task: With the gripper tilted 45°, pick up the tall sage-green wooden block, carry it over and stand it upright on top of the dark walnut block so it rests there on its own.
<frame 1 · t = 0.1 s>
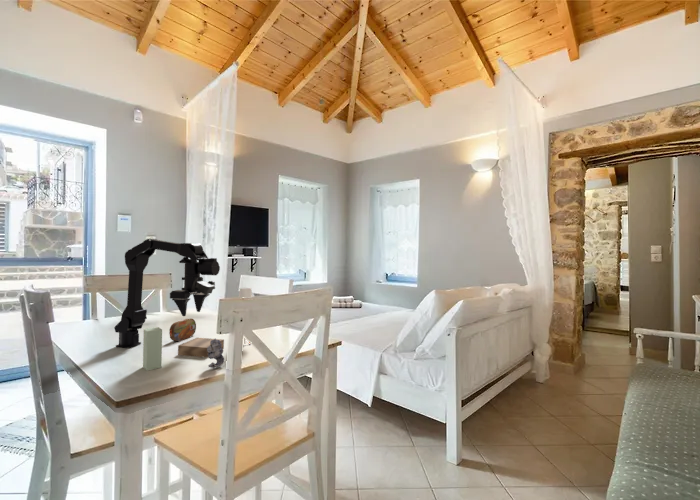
hand: (191, 313, 136), 15 cm above the table, tool pointing down, fingers open, 9 cm apart
champagne flute: (244, 344, 148), on the table
sage block: (152, 367, 117), on the table
grey lumpy figurine: (215, 367, 118), on the table
walnut block: (201, 352, 136), on the table
tin: (182, 339, 154), on the table
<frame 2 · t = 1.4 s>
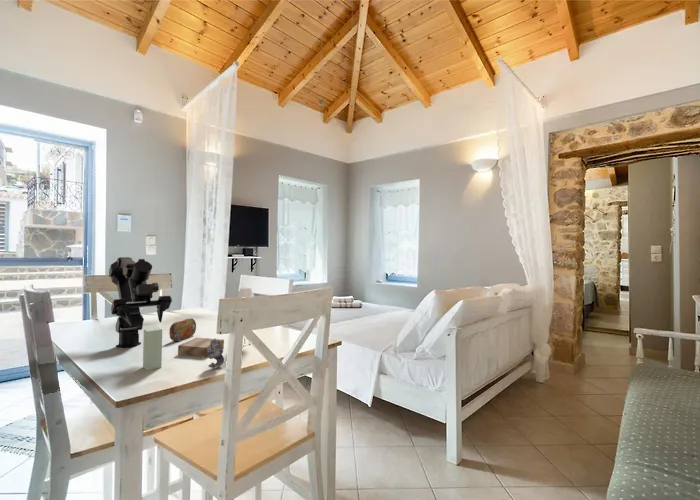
hand: (146, 323, 123), 14 cm above the table, tool tilted 45°, fingers open, 9 cm apart
nothing on the table moved.
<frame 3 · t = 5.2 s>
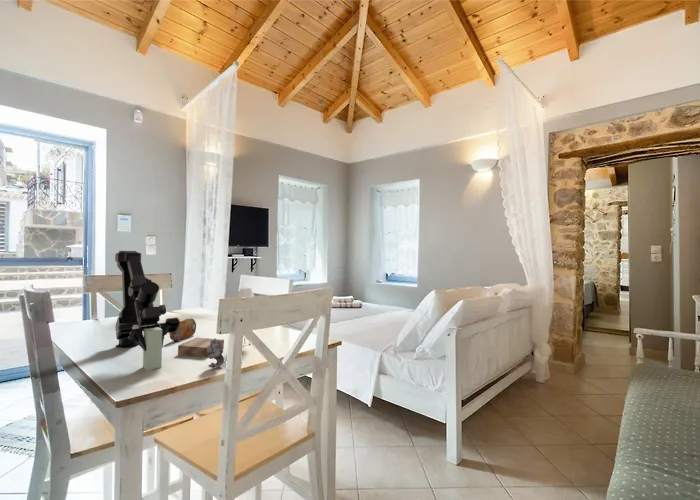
hand: (153, 348, 116), 7 cm above the table, tool tilted 45°, fingers closed on sage block, 4 cm apart
sage block: (152, 367, 117), on the table, touching gripper
everything else where it was.
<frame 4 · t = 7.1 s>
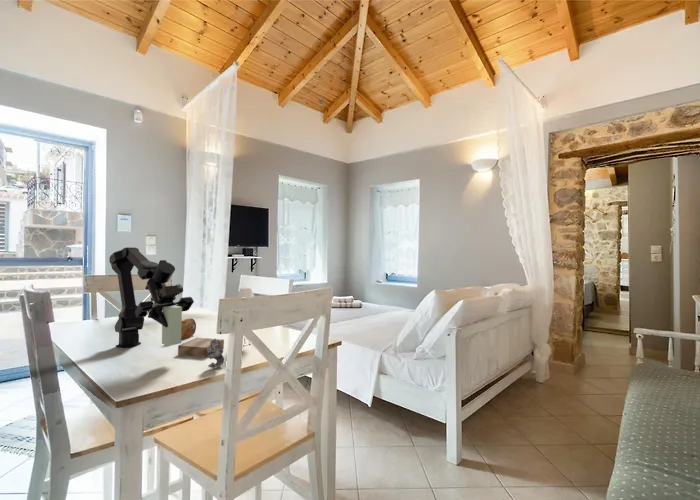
hand: (173, 325, 121), 13 cm above the table, tool tilted 45°, fingers closed on sage block, 4 cm apart
sage block: (171, 343, 122), point 7 cm above the table, touching gripper
everything else where it was.
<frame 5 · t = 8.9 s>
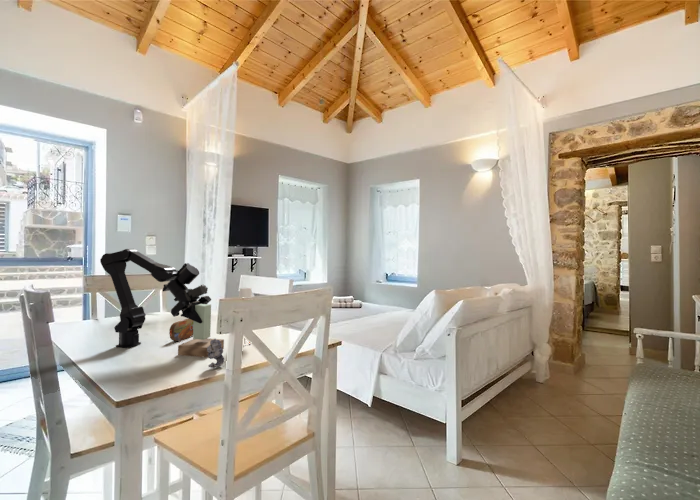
hand: (205, 321, 135), 12 cm above the table, tool tilted 45°, fingers closed on sage block, 4 cm apart
sage block: (201, 337, 136), point 5 cm above the table, touching gripper
everything else where it was.
when the fingers open (12 cm above the table, at t = 9.4 s): sage block drops 2 cm, resting on walnut block.
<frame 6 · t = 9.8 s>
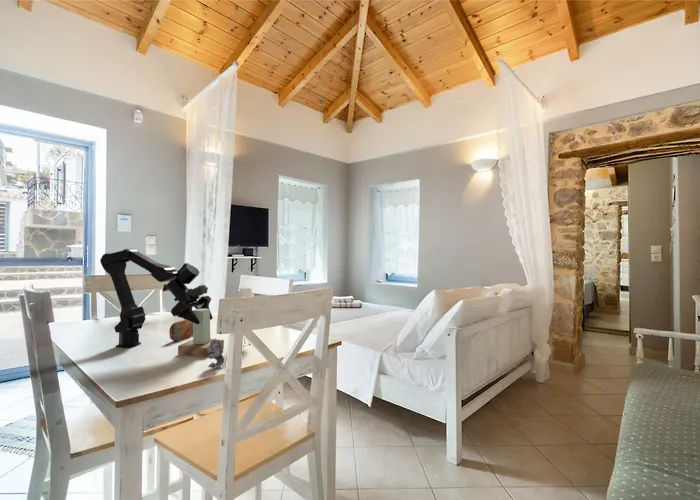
hand: (205, 321, 135), 12 cm above the table, tool tilted 45°, fingers open, 8 cm apart
sage block: (201, 342, 136), point 4 cm above the table, touching walnut block
walnut block: (201, 352, 136), on the table, touching sage block
everything else where it was.
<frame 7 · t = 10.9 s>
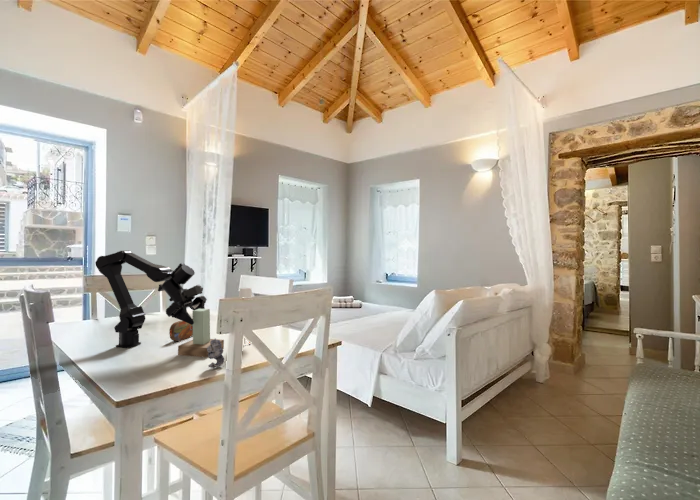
hand: (200, 321, 136), 12 cm above the table, tool tilted 45°, fingers open, 9 cm apart
nothing on the table moved.
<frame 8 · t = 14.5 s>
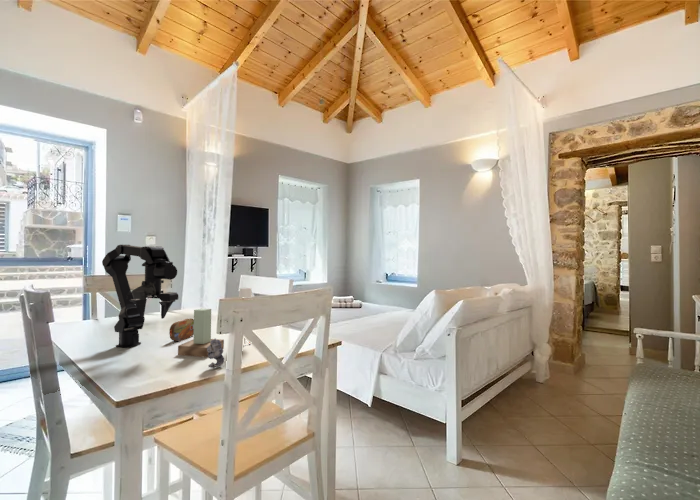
hand: (152, 317, 135), 13 cm above the table, tool pointing down, fingers open, 9 cm apart
at the end: sage block inside the target area on the walnut block (0.3 cm from its centre), point 4.1 cm above the walnut block's base; sage block tilted 2°; the gripper is holding nothing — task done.
